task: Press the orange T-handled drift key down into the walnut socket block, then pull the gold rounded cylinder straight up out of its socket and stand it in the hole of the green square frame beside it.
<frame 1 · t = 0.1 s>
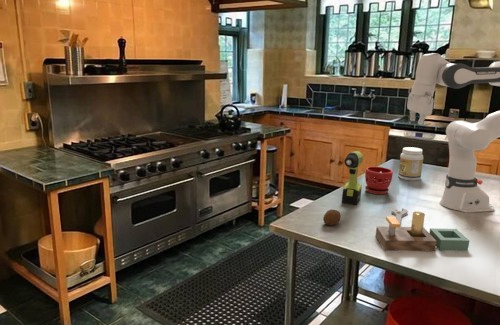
hand: (416, 122, 181), 39 cm above the table, tool pointing down, fingers open, 8 cm apart
supplement tub: (409, 178, 232), on the table
cordless drill: (349, 203, 191), on the table
green square frame: (447, 244, 151), on the table
adjustable wrench: (396, 221, 173), on the table
gold rounded cylinder: (415, 243, 151), resting in socket block
plant pot: (377, 192, 208), on the table
socket block: (404, 243, 152), on the table
potato: (332, 224, 169), on the table
drift key: (392, 228, 150), point 6 cm above the table, slide at 0.0 cm
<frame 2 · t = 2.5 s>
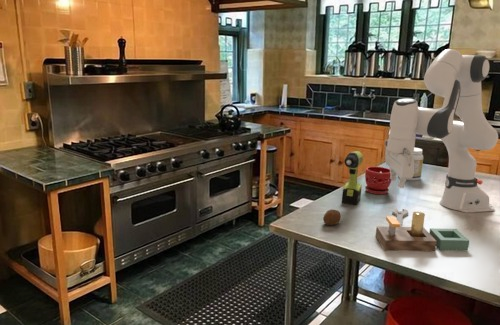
hand: (396, 183, 146), 23 cm above the table, tool pointing down, fingers open, 7 cm apart
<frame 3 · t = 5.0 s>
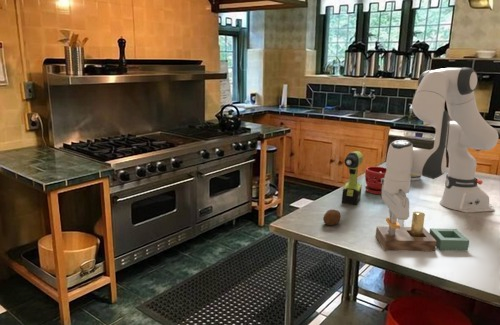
hand: (392, 221, 149), 9 cm above the table, tool pointing down, fingers closed, pressing on drift key
drift key: (392, 229, 150), point 6 cm above the table, slide at 0.5 cm, touching gripper
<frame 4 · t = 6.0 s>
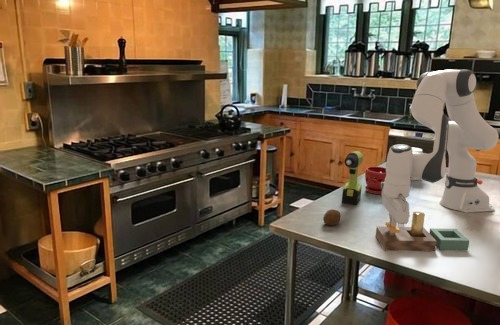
hand: (392, 225, 150), 7 cm above the table, tool pointing down, fingers closed
drift key: (391, 233, 151), point 4 cm above the table, slide at 2.2 cm
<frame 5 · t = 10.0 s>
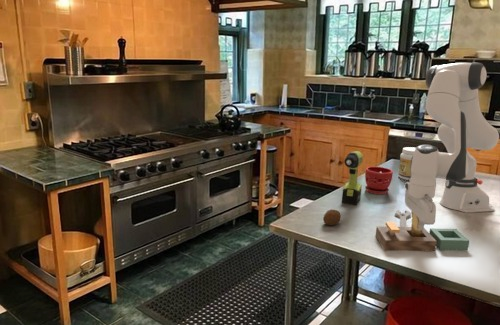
hand: (417, 225, 150), 7 cm above the table, tool pointing down, fingers closed on gold rounded cylinder, 4 cm apart
adjustable wrench: (400, 224, 170), on the table
gold rounded cylinder: (415, 243, 151), resting in socket block, touching gripper
everything else where it was.
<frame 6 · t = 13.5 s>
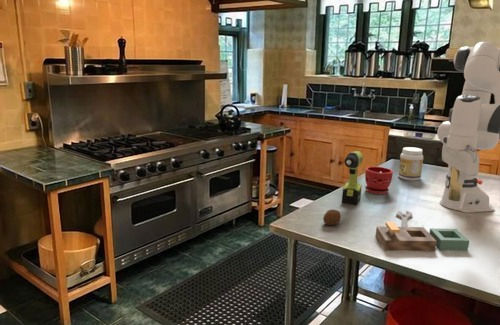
hand: (456, 180, 145), 25 cm above the table, tool pointing down, fingers closed on gold rounded cylinder, 4 cm apart
gold rounded cylinder: (453, 199, 147), point 18 cm above the table, touching gripper
when the fingers open (9 cm above the table, at t = 16.9 s): gold rounded cylinder drops 2 cm, resting in green square frame.
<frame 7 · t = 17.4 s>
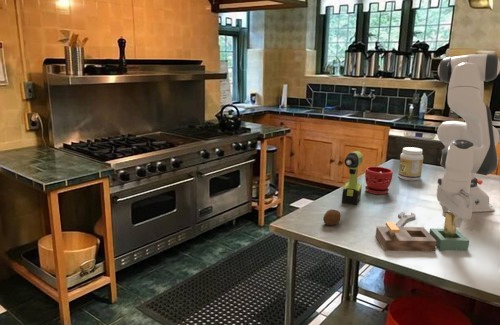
hand: (450, 221, 149), 9 cm above the table, tool pointing down, fingers open, 8 cm apart
adjustable wrench: (399, 224, 169), on the table
gold rounded cylinder: (447, 244, 151), resting in green square frame
everything else where it was.
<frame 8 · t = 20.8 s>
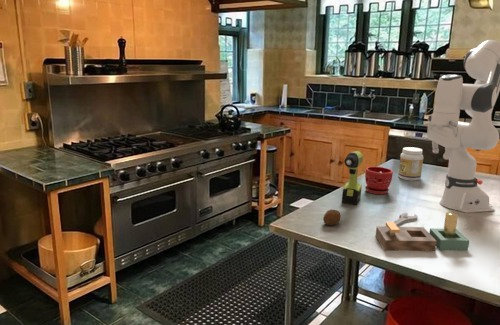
hand: (440, 155, 154), 31 cm above the table, tool pointing down, fingers open, 8 cm apart
adjustable wrench: (396, 224, 170), on the table
everything else where it was.
at the end: drift key slide at 2.2 cm; gold rounded cylinder 0.0 cm off-centre on the green square frame, point 0.0 cm above the green square frame's base; gold rounded cylinder tilted 0° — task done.
